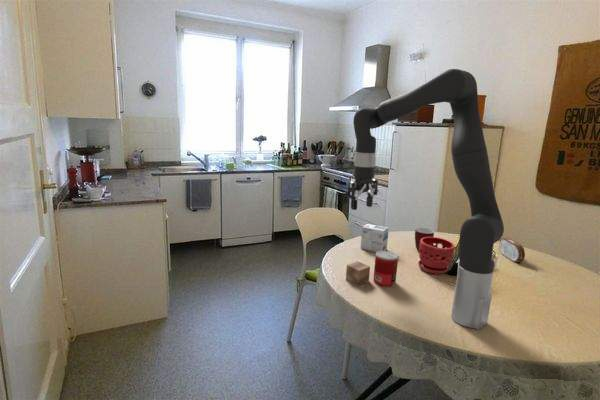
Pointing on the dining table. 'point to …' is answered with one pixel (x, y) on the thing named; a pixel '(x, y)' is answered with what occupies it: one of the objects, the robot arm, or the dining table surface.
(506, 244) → the tin
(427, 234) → the mug
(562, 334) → the dining table surface
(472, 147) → the robot arm
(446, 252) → the plant pot
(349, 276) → the walnut block
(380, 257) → the canned food
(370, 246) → the light bulb box
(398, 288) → the dining table surface
